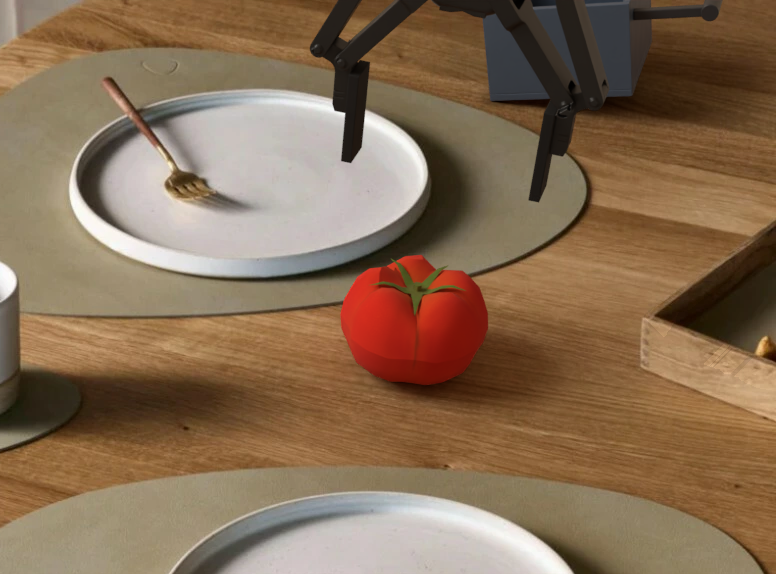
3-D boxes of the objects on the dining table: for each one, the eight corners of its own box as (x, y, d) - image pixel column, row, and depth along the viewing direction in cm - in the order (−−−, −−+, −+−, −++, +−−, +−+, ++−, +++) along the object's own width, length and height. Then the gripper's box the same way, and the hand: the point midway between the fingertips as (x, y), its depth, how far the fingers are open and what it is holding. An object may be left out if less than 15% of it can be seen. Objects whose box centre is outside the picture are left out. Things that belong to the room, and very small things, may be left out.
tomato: (497, 344, 118) (511, 260, 113) (450, 420, 110) (463, 333, 105) (369, 309, 121) (377, 225, 116) (315, 379, 113) (321, 294, 108)
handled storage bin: (731, 38, 153) (731, -52, 148) (716, 93, 143) (716, -2, 138) (518, 48, 161) (511, -38, 156) (490, 101, 151) (481, 12, 146)
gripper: (275, -152, 94) (259, 160, 108) (679, -86, 89) (609, 234, 102) (312, -183, 100) (293, 117, 113) (695, -123, 94) (626, 185, 108)
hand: (443, 173), depth 108 cm, fingers open, 13 cm apart
